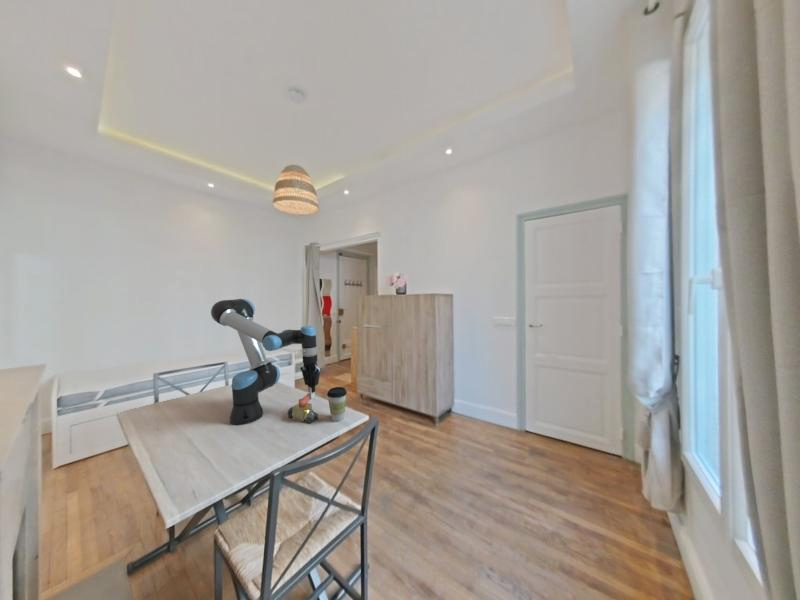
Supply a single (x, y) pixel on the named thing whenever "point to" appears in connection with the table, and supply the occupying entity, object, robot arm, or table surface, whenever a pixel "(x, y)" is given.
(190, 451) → the table surface
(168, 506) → the table surface
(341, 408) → the coffee cup
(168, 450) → the table surface
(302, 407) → the pipe run
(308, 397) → the lever
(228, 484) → the table surface
